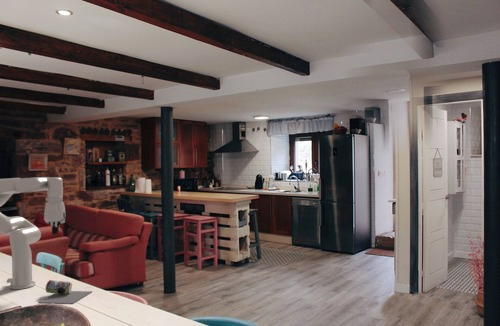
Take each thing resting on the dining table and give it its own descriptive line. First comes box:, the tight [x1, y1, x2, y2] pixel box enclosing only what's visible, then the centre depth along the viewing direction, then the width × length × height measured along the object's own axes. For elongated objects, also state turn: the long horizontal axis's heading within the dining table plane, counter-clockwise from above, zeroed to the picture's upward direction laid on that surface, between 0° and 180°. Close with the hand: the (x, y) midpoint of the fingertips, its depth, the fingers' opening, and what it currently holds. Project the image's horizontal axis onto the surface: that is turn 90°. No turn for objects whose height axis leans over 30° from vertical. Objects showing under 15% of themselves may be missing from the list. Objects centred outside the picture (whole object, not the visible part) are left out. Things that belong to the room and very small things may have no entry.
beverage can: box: [45, 279, 73, 294], centre depth 211 cm, size 6×7×12 cm
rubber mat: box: [37, 290, 93, 305], centre depth 206 cm, size 18×18×1 cm
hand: (55, 233), depth 225 cm, fingers closed
